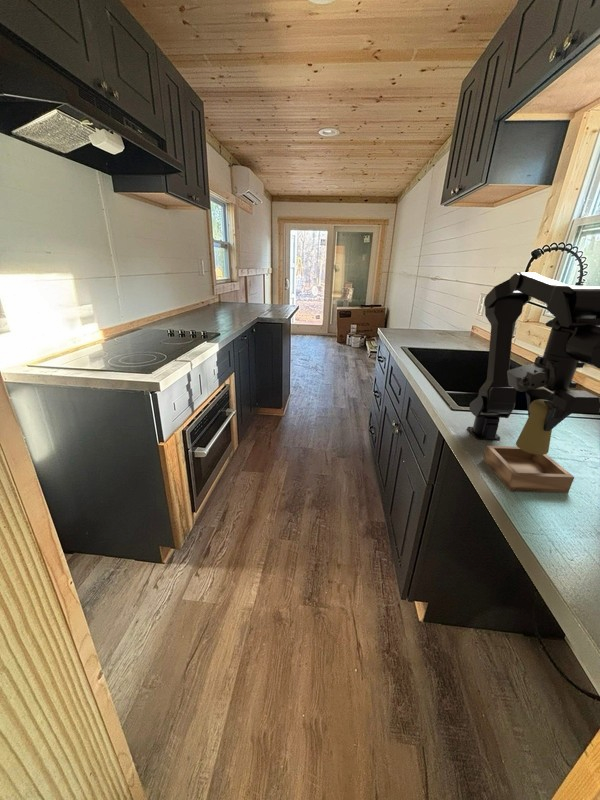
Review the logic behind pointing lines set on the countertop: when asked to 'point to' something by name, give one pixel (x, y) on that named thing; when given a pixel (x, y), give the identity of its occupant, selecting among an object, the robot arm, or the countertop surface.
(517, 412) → the countertop surface
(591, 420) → the countertop surface
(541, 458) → the box
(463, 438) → the countertop surface
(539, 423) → the cork
